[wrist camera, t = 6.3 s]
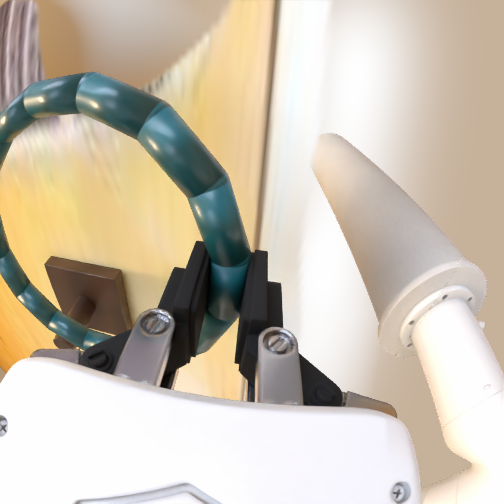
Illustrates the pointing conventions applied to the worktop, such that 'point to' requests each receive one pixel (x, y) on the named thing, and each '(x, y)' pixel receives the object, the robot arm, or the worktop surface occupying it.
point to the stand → (89, 296)
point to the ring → (175, 166)
